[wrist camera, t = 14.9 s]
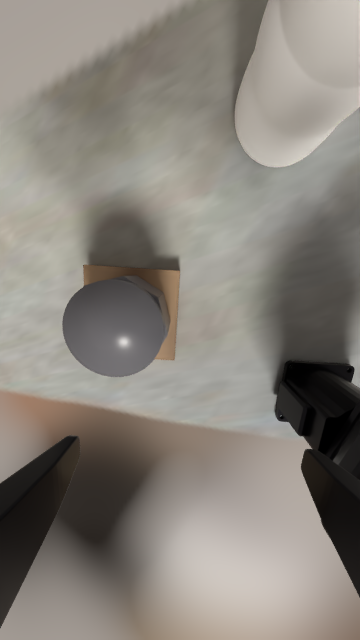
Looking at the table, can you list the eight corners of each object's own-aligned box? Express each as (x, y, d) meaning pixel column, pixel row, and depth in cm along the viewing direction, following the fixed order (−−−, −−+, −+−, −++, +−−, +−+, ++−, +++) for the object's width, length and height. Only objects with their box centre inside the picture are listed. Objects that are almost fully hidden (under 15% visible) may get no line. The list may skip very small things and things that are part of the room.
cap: (84, 287, 17) (47, 293, 13) (157, 270, 17) (148, 268, 12) (107, 356, 19) (81, 385, 14) (175, 341, 18) (173, 366, 14)
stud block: (179, 270, 18) (179, 270, 14) (174, 355, 20) (172, 379, 16) (89, 265, 18) (58, 262, 14) (92, 350, 20) (66, 373, 15)
